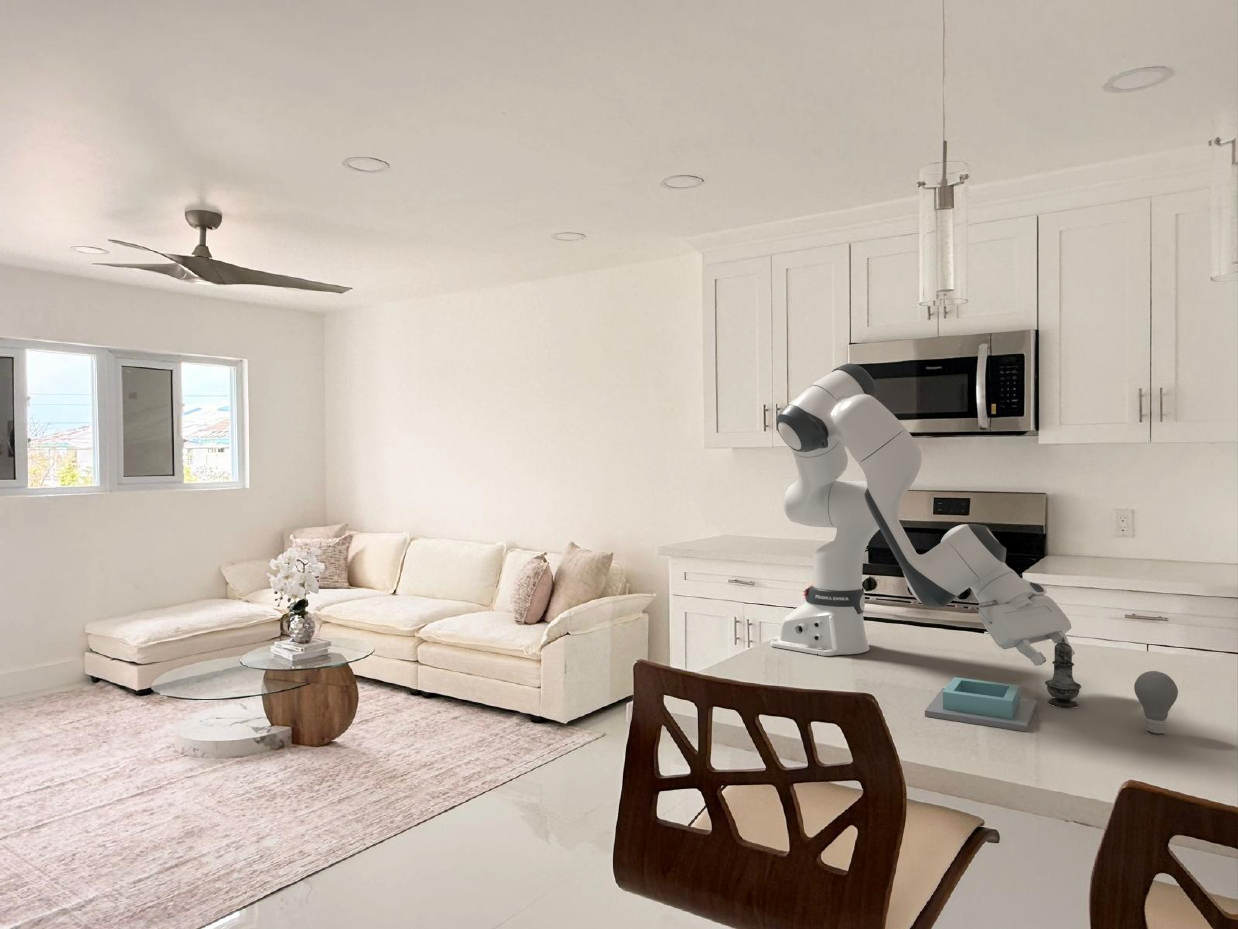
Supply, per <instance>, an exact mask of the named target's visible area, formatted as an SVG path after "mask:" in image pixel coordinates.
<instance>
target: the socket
mask: <svg viewBox="0 0 1238 929" xmlns="http://www.w3.org/2000/svg"><path fill="white" fill-rule="evenodd" d="M1036 708H1037V700H1035V699H1026V698H1020V685H1019V684H1010V683H1002V682H995V681H986V680H981V679H974V678H973V679H970V678H965V677H955V676H954V677H953V678H952V680H951V681H950V682H948V684H947V686H945V687H942V688H941V689H940V691H939V692H937V694H936V696H935V697H934V698H933V700H932V701H931V702H930V703H929V705H928V706H927V707H926V708H925V710H924V717H928V718H933V719H941V720H946V721H952V722H954V721H955V722H959V723H966V724H971V725H972V724H973V725H978V726H980V725H981V726H984V727H985V726H986V727H992V728H999V729H1005V730H1013V731H1020V732H1025V733H1026V732H1028V730H1029V728H1030V724H1031V722H1032V719H1033V716H1034V713H1035V711H1036Z"/></svg>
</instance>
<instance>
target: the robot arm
mask: <svg viewBox="0 0 1238 929" xmlns="http://www.w3.org/2000/svg"><path fill="white" fill-rule="evenodd" d="M876 398H877V387H876V383H875V381H874V378H872V376H871V375H870V373H869V372H868V371H867V370H866V369H865V368H864V367H862V366H860V365H857V364H855V363H850V362H849V363H845V364H843V365H840V366H838V367H835V368H834V369H832V371H831V372H830V373H828V374H826V375H824V376H822V377H821V378H820V379H818V380H817V381H815V382H813V383H812V384H811V385H809V386H808V388H806V389H805V390H804V391H803V392H802V393H800V394H799V395H798V396H797V397H796V398H794V399H793V400H791V401H790V402H789V403H788V404H786V405H785V406H784V408H782V410H780V412H779V413H778V414H777V417H776V420H775V423H776V430H777V432H778V434H779V435H780V437H781V439H782V441H783V442H784V443H785V444H786V445H787V446H788V447H789V448H790V449H791V453H792V455H793V457H794V460H795V464H796V467H797V472H798V477H797V479H796V480H795V481H794V482H793V483H791V484H790V485H789V486H788V488H787V489H786V491H785V493H784V495H783V496H784V497H783V501H782V502H783V503H782V504H783V511H784V513H785V516H787V518H788V519H789V520H790V521H791V522H793V523H796V524H799V525H801V526H807V527H815V528H835V529H836V533H835V538H833V540H832V541H830V542H828V543H825V544H824V545H821V546H820V547H819V548H817V549H816V551H815V552H814V555H813V558H812V584H811V585H809V586H808V587H807V588H806V589H805V590H804V591H803V596H804V599H805V601H804V602H803V603H801V604H800V605H798V606H797V607H796V608H795V609H793V610H792V611H790V613H788V614H786V615H785V616H784V617H783V619H782V622H781V625H780V630H779V634H777V635H775V636H773V637H772V638H771V639H770V643H769V645H770V646H771V647H773V648H778V649H779V648H780V649H784V650H785V649H786V650H789V651H796V652H802V653H808V654H812V655H817V654H818V655H819V656H825V657H832V656H838V655H842V656H843V655H856V654H857V655H858V654H862V653H866V652H868V651H870V646H869V643H868V638H867V635H866V628H865V620H864V612H865V597H866V596H865V589H864V587H863V567H864V566H863V565H864V564H863V563H864V556H865V553H866V552H865V551H866V549H867V546H868V544H869V543H870V541H871V539H872V538H873V537H874V536H875V534H876V533H878V532H879V531H880V532H881V534H882V536H883V538H884V539H885V542H886V543H887V544H888V547H889V548H890V550H891V552H892V554H893V556H894V558H895V559H896V561H897V562H898V565H899V566H900V568H901V570H902V573H903V576H904V578H905V581H906V585H907V587H908V589H909V590H910V592H911V594H912V595H913V597H914V598H915V599H916V600H917V601H918V602H919V603H920V604H921V605H923V606H924V607H928V608H946V607H947V606H948V605H949V604H950V603H952V601H954V600H955V599H956V598H958V597H959V595H961V594H962V593H964V592H965V591H966V590H967V589H969V588H970V589H971V590H972V593H973V595H974V597H975V599H976V600H977V601H978V602H979V603H978V606H977V609H978V610H977V612H978V614H979V615H980V618H981V623H982V624H983V626H984V628H985V630H986V631H987V633H988V634H989V635H990V637H991V639H992V640H993V641H994V643H995V644H996V645H997V646H998V647H999V648H1001V649H1003V650H1008V649H1014V648H1016V650H1017V651H1018V652H1019V653H1020V654H1022V655H1023V656H1025V657H1026V658H1027V659H1029V660H1030V661H1031V662H1032V663H1033V665H1034V666H1037V667H1038V666H1043V664H1044V663H1046V662H1047V658H1046V657H1045V655H1044V654H1043V652H1041V651H1038V650H1036V649H1035V648H1034V647H1033V646H1032V645H1031V644H1035V643H1040V642H1044V641H1045V642H1046V641H1048V640H1051V641H1052V643H1053V644H1058V643H1060V642H1062V639H1063V638H1064V639H1065V643H1066V644H1069V645H1070V642H1069V639H1068V636H1067V635H1066V633H1068V632H1069V631H1070V630H1071V629H1072V623H1071V621H1070V620H1069V618H1068V617H1067V615H1066V614H1065V612H1064V611H1063V610H1062V609H1061V608H1060V606H1059V605H1058V604H1057V603H1056V602H1055V601H1054V600H1053V599H1052V598H1051V597H1049V595H1046V594H1047V593H1048V591H1047V589H1046V588H1045V587H1044V585H1042V584H1041V583H1037V582H1033V581H1029V580H1027V579H1024V578H1022V577H1020V576H1019V574H1018V573H1017V572H1016V571H1015V570H1014V569H1012V568H1011V567H1009V566H1008V565H1007V563H1006V558H1007V548H1006V547H1005V546H1004V545H1003V544H1001V543H1000V542H999V540H998V539H997V538H996V537H995V536H994V534H993V532H992V530H991V529H990V528H989V527H988V526H987V525H982V524H978V523H977V524H975V523H968V524H960V525H956V526H954V527H952V528H950V529H949V530H947V532H946V533H945V534H944V535H943V537H942V538H941V539H940V543H938V544H937V545H935V546H934V547H932V548H931V549H930V550H929V551H927V552H925V553H922V554H919V553H917V552H916V549H915V547H914V545H913V544H912V543H911V540H910V538H909V537H908V535H907V533H906V531H905V530H904V528H903V526H902V524H901V522H900V519H899V508H900V505H901V503H902V501H903V500H904V497H905V495H906V494H907V492H908V491H909V489H910V488H911V486H912V485H913V483H914V482H915V480H916V479H917V477H918V474H919V472H920V468H921V466H922V450H921V449H920V447H919V445H918V443H917V442H916V440H915V439H914V437H913V436H912V435H911V433H910V431H908V429H907V428H905V426H904V425H903V424H902V422H901V421H900V420H899V419H898V418H897V417H896V416H895V414H893V413H892V412H891V411H890V410H889V408H887V407H886V406H884V404H883V403H882V402H880V401H879V400H878V399H876ZM845 447H846V448H845ZM846 449H847V450H848V452H849V453H850V454H851V456H852V458H854V460H855V462H856V463H857V464H858V466H859V467H860V468H861V470H862V471H863V473H864V475H865V476H864V477H865V479H866V480H838V479H839V478H840V477H841V476H842V475H843V474H844V473H845V471H846V470H847V468H848V462H849V456H848V453H847V450H846ZM1075 654H1076V652H1075V650H1074V649H1073V648H1072V657H1073V656H1075Z"/></svg>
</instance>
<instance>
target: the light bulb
mask: <svg viewBox="0 0 1238 929" xmlns="http://www.w3.org/2000/svg"><path fill="white" fill-rule="evenodd" d="M1133 687H1134V694H1135V696H1136V698H1137V699H1138V701H1139V702H1140V704H1141V706H1142V708H1143V714H1144V716H1145V719H1146V720H1145V721H1146V730H1147V731H1149V732H1151V734H1157V735H1160V734H1162V733H1165V732H1166V730H1165V729H1166V727H1165V726H1166V725H1165V724H1166V719H1167V718H1168V715H1169V711H1170V709H1171V708H1172V706H1174V705H1175V702H1176V701H1177V699H1178V695H1179V689H1178V687H1177V684H1176V683H1175V681H1174V679H1173V678H1171V677H1170V676H1169V675H1168V674H1166V673H1164V672H1162V671H1158V670H1149V671H1145V672H1143V673H1141V674H1139V676H1138V677H1137V678H1136V680H1135V682H1134V686H1133Z"/></svg>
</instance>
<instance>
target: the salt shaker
mask: <svg viewBox="0 0 1238 929" xmlns="http://www.w3.org/2000/svg"><path fill="white" fill-rule="evenodd" d="M1072 649H1073V648H1072V646H1071V645H1070V643H1069V644H1066V643H1065V639H1064V638H1063V639H1062V642H1060V643H1058V644H1057V643H1055V645H1054V660H1052V662H1051V664H1053V676H1052V678H1051V679H1048V680H1045V682H1044V684H1045V686H1046V689H1047V691H1048V694H1050V695H1051V698H1049V699H1047V700H1046V704H1048V705H1049V704H1050V706H1052V705H1054V706H1053V707H1055V706H1057V707H1056V708H1060V707H1061V708H1060V709H1078V708H1079V707H1080V703H1078V702H1077V701H1076V700H1074V699H1075V698H1077V697H1078V696H1079V694H1080V689H1081V688H1082V685H1081V684H1079V683H1078V682H1076V681H1075V679H1074V677H1073V676H1074V675H1073V667H1074V666H1075V663H1074V662H1073V659H1072V658H1073V656H1072ZM1077 707H1078V708H1077Z"/></svg>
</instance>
